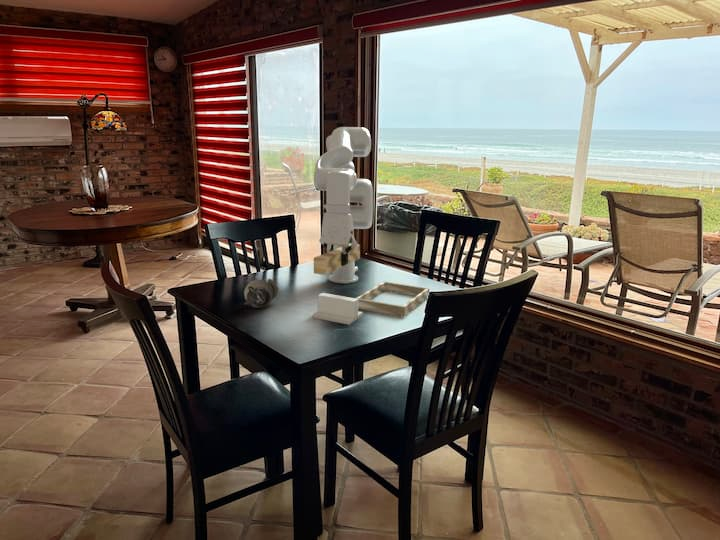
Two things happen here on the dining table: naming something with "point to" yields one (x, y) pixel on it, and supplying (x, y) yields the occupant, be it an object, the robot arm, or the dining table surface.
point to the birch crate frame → (392, 309)
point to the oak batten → (334, 260)
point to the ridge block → (337, 308)
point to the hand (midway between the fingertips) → (338, 263)
